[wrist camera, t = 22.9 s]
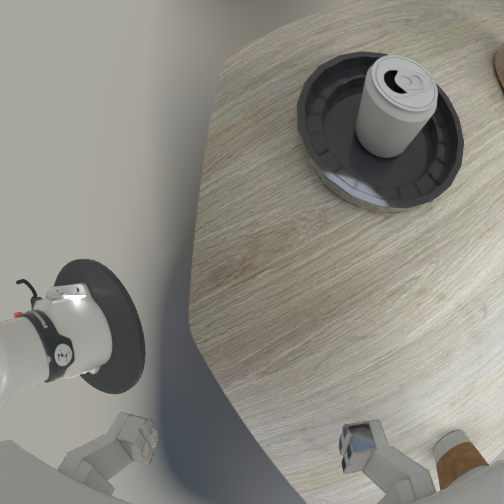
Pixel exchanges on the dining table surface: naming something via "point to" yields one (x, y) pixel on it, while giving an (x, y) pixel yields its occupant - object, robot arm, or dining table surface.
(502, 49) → the planter
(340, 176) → the grey shallow round dish
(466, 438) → the coffee cup
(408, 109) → the beverage can
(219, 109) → the dining table surface
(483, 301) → the dining table surface
